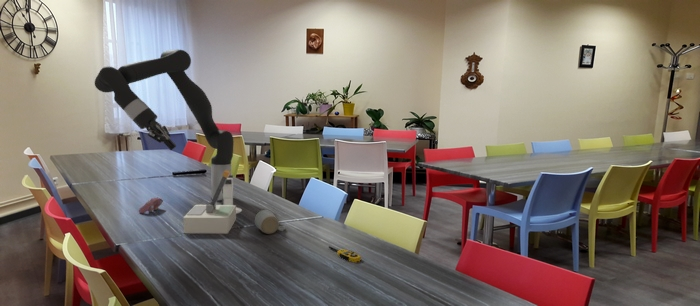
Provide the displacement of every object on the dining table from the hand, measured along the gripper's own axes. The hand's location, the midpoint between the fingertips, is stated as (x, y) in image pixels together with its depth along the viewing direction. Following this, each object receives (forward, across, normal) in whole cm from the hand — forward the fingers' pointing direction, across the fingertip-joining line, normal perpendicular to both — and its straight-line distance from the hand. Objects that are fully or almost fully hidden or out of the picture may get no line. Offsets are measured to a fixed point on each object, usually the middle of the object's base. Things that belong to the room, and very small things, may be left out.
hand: (173, 148), depth 166 cm
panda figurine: (+34, +19, +9) cm, 40 cm away
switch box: (+32, -3, +10) cm, 33 cm away
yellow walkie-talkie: (+65, -31, -28) cm, 77 cm away
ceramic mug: (+47, -8, -8) cm, 49 cm away
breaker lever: (+26, -2, +5) cm, 27 cm away
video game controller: (+12, +16, +33) cm, 39 cm away
